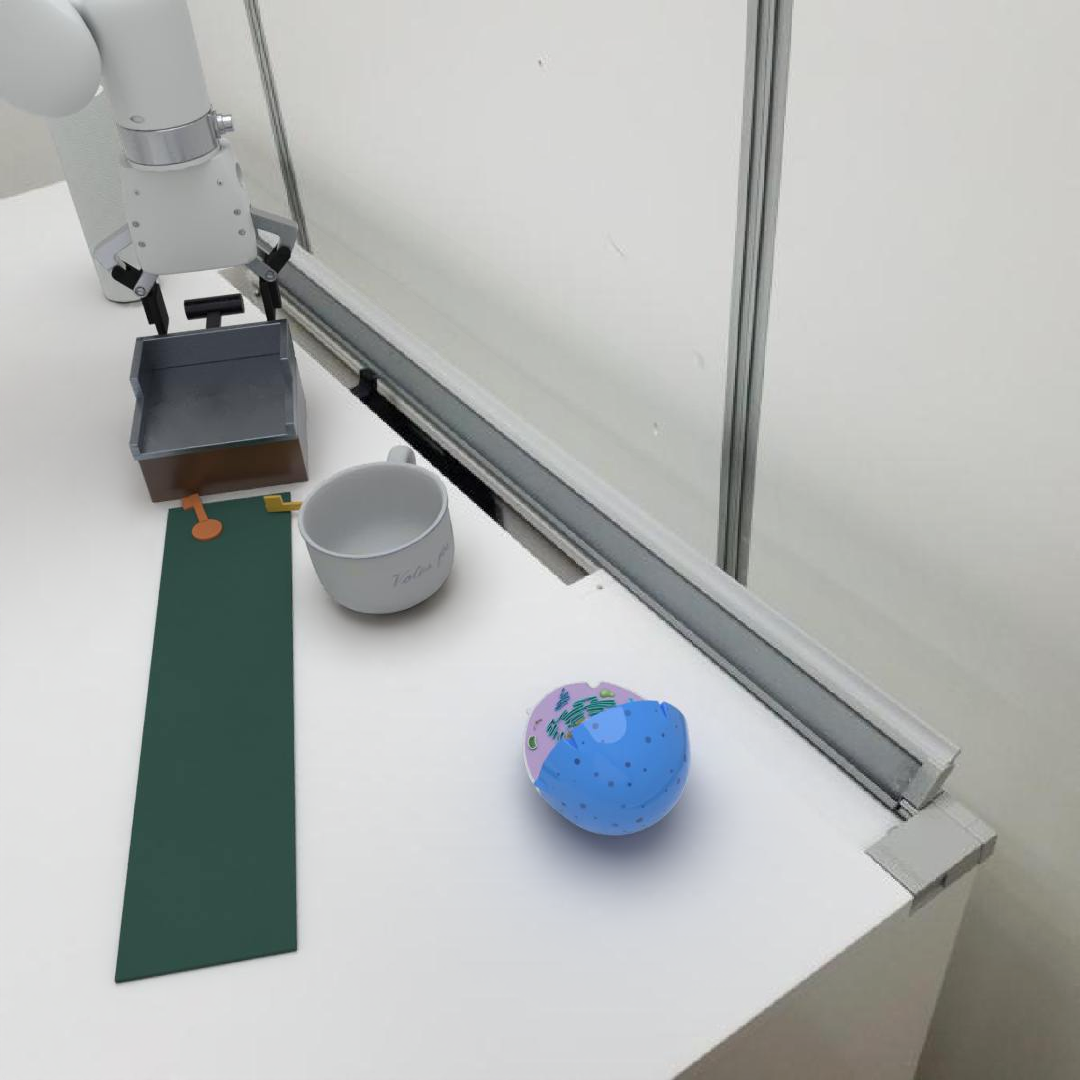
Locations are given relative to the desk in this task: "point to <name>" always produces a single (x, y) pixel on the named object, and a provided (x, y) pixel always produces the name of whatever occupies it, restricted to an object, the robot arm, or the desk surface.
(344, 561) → the teacup
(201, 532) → the copper key
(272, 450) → the stand
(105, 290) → the paper towel roll
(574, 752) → the cell model
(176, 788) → the mat
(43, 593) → the desk surface
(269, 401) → the grey letter tray
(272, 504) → the brass key
